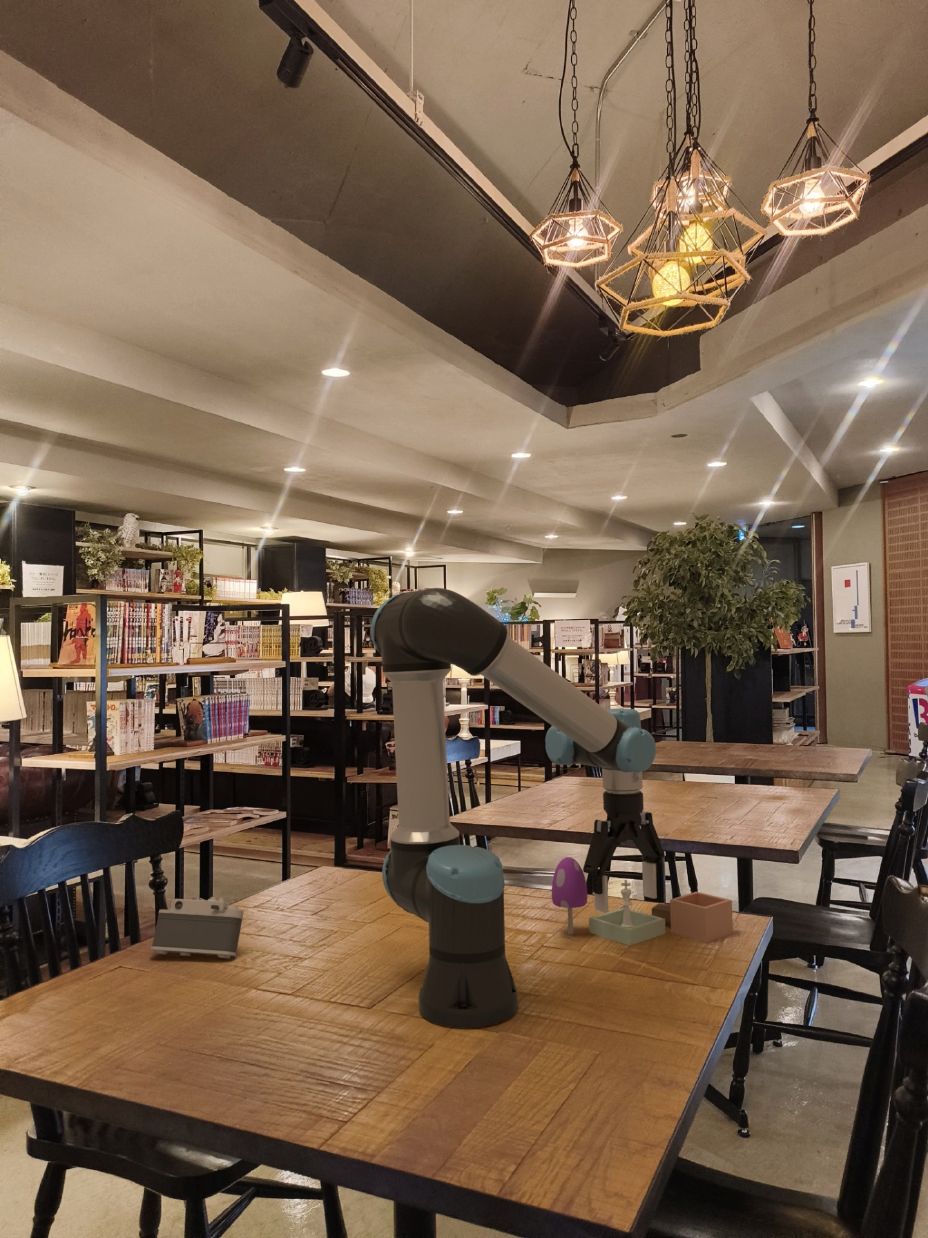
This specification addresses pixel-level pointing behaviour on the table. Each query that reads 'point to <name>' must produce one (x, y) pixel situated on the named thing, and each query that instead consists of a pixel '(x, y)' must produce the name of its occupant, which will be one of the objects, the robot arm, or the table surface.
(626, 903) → the chess piece
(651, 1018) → the table surface
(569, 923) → the toy
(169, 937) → the camera
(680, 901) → the square terracotta box
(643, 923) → the green tray
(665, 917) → the walnut block
